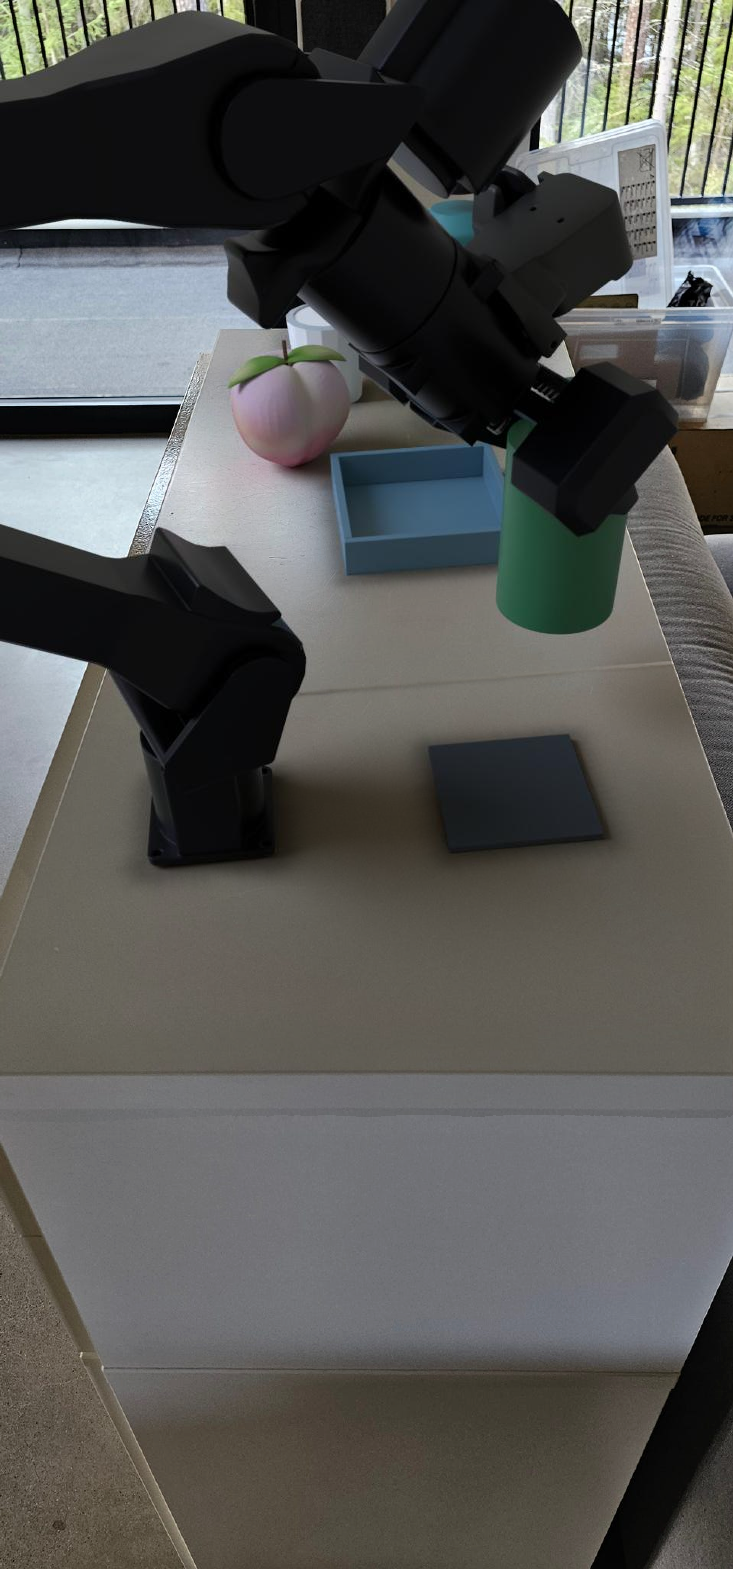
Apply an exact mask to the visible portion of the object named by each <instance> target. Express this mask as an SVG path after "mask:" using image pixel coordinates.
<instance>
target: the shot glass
mask: <svg viewBox="0 0 733 1569" xmlns="http://www.w3.org/2000/svg"><path fill="white" fill-rule="evenodd" d="M285 318H286V325H287V326H286V327H287V333H288V338H289V343H290V349H295V348H298V347H301V346H305V345H320V346H325V347H328V348H330V349H333V350H335V351H336V352H338V353H339V354H341V355H342V356H343V357H344V358H345V359H346V360H347V361H336V360H329V361H331V362H332V363H333V364H334V365H335V366H336V367H337V368H338V370H339V371H340V373H341V374H342V376H343V378H344V379H345V382H346V384H347V387H348V390H349V394H350V405H352V404H354V403H356V402H357V401H359V400H360V398H361V397H362V395H363V383H364V382H363V381H364V373H362V372H361V371H360V370H359V355H358V353H357V352H356V351H354V350H353V349H352V348H351V347H350V346H349V345H348V344H349V341H348V340H347V339H346V338H344V337H343V336H342V335H341V334H340V333H339V332H338V331H337V330H335V329H334V328H333V327H332V326H331V325H330V324H329V323H328V322H326V321H325V320H324V319H323V318H322V317H321V316H320V315H319V314H317V313H316V312H315V311H314V310H313V309H312V308H311V307H310V306H308V305H307V304H306V303H305V304H302V305H301V304H300V306H297V307H295V308H292V309H291V310H289V311H288V313H287V314H286V315H285Z"/></svg>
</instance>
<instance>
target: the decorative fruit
mask: <svg viewBox="0 0 733 1569" xmlns="http://www.w3.org/2000/svg"><path fill="white" fill-rule="evenodd" d="M329 360H336V361H347V360H346V359H345V358H344V357H343V356H342V355H341V354H339V353H338V352H336V351H335V350H333V349H330V348H328V347H325V346H320V345H305V346H301V347H298V348H295V349H291V348H288V347H287V340H286V339H281V349H275V350H270V351H267V352H264V353H261V354H259V355H257V356H255V357H253V358H250V359H249V360H247V361H246V362H244V363H243V364H242V365H240V367H239V368H238V369H237V370H236V371H235V373H233V375H232V377H231V379H230V380H229V383H228V386H227V389H228V390H229V389H231V392H230V407H231V413H232V417H233V421H234V424H235V427H236V429H237V431H238V434H239V436H240V437H241V439H242V441H243V443H244V444H245V445H246V446H247V447H248V449H249V450H250V451H251V452H253V453H254V454H255V455H257V456H258V457H259V458H262V459H263V460H266V461H268V462H270V463H274V464H278V465H281V466H286V467H289V468H290V467H291V468H295V467H298V466H301V465H305V464H306V463H308V462H310V461H312V460H314V459H316V458H317V457H318V456H320V455H321V454H322V453H323V452H325V451H326V450H327V449H328V448H329V447H330V445H332V443H333V442H334V441H335V440H336V439H337V438H338V436H339V435H340V433H341V432H342V430H343V428H344V427H345V426H346V423H347V421H348V418H349V415H350V411H351V404H350V394H349V390H348V387H347V384H346V382H345V379H344V378H343V376H342V374H341V373H340V371H339V370H338V368H337V367H336V366H335V365H334V364H333V363H332V362H331V361H329Z"/></svg>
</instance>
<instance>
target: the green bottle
mask: <svg viewBox="0 0 733 1569" xmlns="http://www.w3.org/2000/svg"><path fill="white" fill-rule="evenodd" d="M573 377H574V376H567V377H565V378H566V379H568V380H570V381H571V380H572V379H573ZM549 401H550V402H552V403H554V401H553V400H552V399H549ZM533 428H534V426H533V425H532V424H530V423H529V422H527V421H526V420H524V419H523V418H522V419H520V420H519V421H517V422H516V423H515V424H513V425H512V427H511V428H510V429H509V431H508V435H507V448H506V449H505V450H506V451H505V462H504V463H505V464H504V475H503V476H504V490H503V504H502V518H501V532H500V546H499V560H498V564H497V575H496V576H497V577H496V588H495V589H496V590H495V605H496V606H497V609H498V611H499V612H500V614H502V616H504V618H505V619H507V620H508V621H510V622H511V623H513V624H514V625H516V626H518V627H521V628H523V629H525V630H529V631H531V632H535V633H539V634H546V635H573V634H581V633H585V632H587V631H590V630H593V629H595V628H597V627H599V626H601V625H603V624H604V623H605V622H606V621H607V620H608V619H609V618H610V617H611V615H612V613H613V611H614V605H615V599H616V595H617V594H616V593H617V586H618V580H619V576H620V575H619V574H620V567H621V561H622V556H623V555H622V554H623V548H624V543H625V536H626V530H627V523H628V516H629V512H628V513H627V514H626V515H611V514H609V516H608V517H607V518H606V519H605V520H604V522H603V523H602V524H601V525H600V527H599V528H598V529H597V530H596V531H595V532H594V533H591V534H587V535H584V536H581V537H577V536H576V535H574V534H573V533H572V532H570V531H569V530H568V529H566V528H565V527H564V526H562V525H561V524H560V523H558V522H557V521H556V520H554V519H553V518H552V517H550V516H549V515H548V514H546V513H545V512H544V511H542V510H541V509H540V508H539V507H538V506H536V505H535V504H534V503H533V502H532V501H530V500H529V499H528V498H527V497H525V496H524V495H523V494H522V493H521V492H520V491H519V490H517V489H516V488H515V487H514V486H513V485H512V484H511V483H510V482H511V469H512V455H513V454H514V452H515V451H516V450H517V449H518V447H519V446H520V445H521V443H522V442H523V441H524V440H525V438H526V437H527V436H528V435H529V433H530V432H531V431H532V429H533Z"/></svg>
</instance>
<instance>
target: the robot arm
mask: <svg viewBox="0 0 733 1569" xmlns="http://www.w3.org/2000/svg"><path fill="white" fill-rule="evenodd" d="M583 54H584V52H583V45H582V42H581V39H580V36H579V34H578V31H577V29H576V27H575V25H574V24H573V21H572V20H571V19H570V17H569V14H567V13H566V11H565V10H564V8H563V6H562V5H561V4H560V3H559V2H558V1H557V0H396V1H395V2H394V4H393V5H392V7H391V9H390V10H389V12H388V13H387V14H386V16H385V17H384V19H383V20H382V22H381V24H379V26H378V28H377V29H376V30H375V32H374V34H373V35H372V37H371V38H370V40H369V41H368V42H367V44H366V46H365V47H364V49H363V50H362V52H361V53H360V55H359V56H358V58H357V59H356V60H354V59H352V58H349V57H345V56H343V55H340V54H337V53H334V52H331V51H328V50H325V49H322V48H320V47H315V48H313V50H311V52H308V51H307V52H306V51H305V52H304V51H303V50H302V49H301V48H300V47H299V46H298V44H297V43H295V42H294V41H292V40H290V39H288V38H285V37H283V36H280V35H278V34H275V33H273V32H269V31H267V30H264V29H261V28H258V27H256V26H252V25H249V24H246V23H243V22H240V21H238V20H235V19H232V18H229V17H226V16H223V15H220V14H218V13H214V12H211V11H206V10H204V11H203V10H197V9H196V10H195V9H187V10H183V11H179V12H175V13H172V14H169V15H166V16H164V17H163V16H162V17H159V18H157V19H155V20H152V21H149V22H146V23H143V24H140V25H138V26H135V27H132V28H130V29H127V30H124V31H121V32H119V33H116V34H113V35H110V36H107V37H105V38H102V39H99V40H97V41H95V42H93V43H92V44H90V45H88V46H86V47H84V48H82V49H79V51H77V52H75V53H73V54H71V55H70V56H68V57H65V58H64V59H62V60H61V61H59V62H56V63H54V64H53V65H50V66H47V67H44V68H42V69H39V70H36V71H33V72H31V73H27V74H24V75H22V76H19V77H14V78H6V79H5V78H4V79H0V233H2V232H8V231H13V230H19V229H24V228H29V227H37V226H41V225H47V224H52V223H59V222H64V221H69V220H87V221H89V220H94V221H95V220H97V221H114V222H121V223H129V224H136V225H144V226H151V227H156V228H157V227H158V228H165V229H173V230H188V231H191V230H192V231H193V230H194V231H195V230H197V231H208V230H209V231H250V233H248V234H244V235H242V236H231V237H230V236H229V237H226V239H225V240H224V242H223V244H222V246H223V247H222V248H223V251H224V252H225V256H226V260H227V272H226V273H227V275H226V286H227V288H226V298H227V300H228V302H229V303H230V304H231V305H233V306H234V307H235V308H236V309H238V310H239V311H240V312H241V313H243V314H244V315H245V316H246V317H248V318H249V319H250V320H251V321H253V322H254V323H255V324H257V325H258V326H259V327H260V328H261V329H263V330H266V331H267V330H271V329H274V327H275V326H277V324H278V323H279V321H280V320H281V319H282V317H283V316H284V314H285V313H286V311H287V310H288V308H289V307H290V306H291V304H292V303H293V301H294V300H295V298H296V297H298V298H299V299H300V300H302V301H303V302H304V303H305V304H307V305H308V306H310V307H311V308H312V309H313V310H314V311H315V312H316V313H317V314H319V315H320V316H321V317H322V318H323V319H324V320H325V321H326V322H328V323H329V324H330V325H331V326H332V327H333V328H334V329H335V330H337V331H338V332H339V333H340V334H341V335H342V336H343V337H344V338H346V339H347V340H348V341H349V344H348V345H349V346H350V347H351V348H352V349H353V350H354V351H356V352H357V353H358V355H359V370H360V371H361V372H362V373H363V375H364V376H366V377H367V378H368V379H369V380H370V381H371V382H372V383H374V384H375V385H376V386H377V387H378V388H380V389H381V391H383V392H385V393H386V394H387V395H389V397H391V398H393V399H394V400H395V401H396V402H398V403H399V404H400V405H401V406H402V407H406V406H407V405H408V404H409V405H408V406H409V409H410V411H412V412H413V413H414V414H416V415H417V416H418V417H419V418H421V419H422V420H424V422H426V423H428V425H430V426H432V427H433V428H434V429H438V430H440V431H444V432H447V433H451V434H454V436H456V437H458V438H459V439H461V440H462V441H463V442H464V443H465V444H469V445H470V446H471V447H472V446H473V445H474V444H475V443H477V442H479V443H486V444H490V445H491V446H492V447H493V446H494V447H496V448H500V449H504V450H506V448H507V435H508V431H509V429H510V428H511V427H512V425H513V424H515V423H516V422H517V421H519V420H520V419H522V418H523V419H524V420H526V421H527V422H529V423H530V424H532V425H533V426H534V428H533V429H532V431H531V432H530V433H529V435H528V436H527V437H526V438H525V440H524V441H523V442H522V443H521V445H520V446H519V447H518V449H517V450H516V451H515V452H514V454H513V455H512V469H511V482H510V483H511V484H512V485H513V486H514V487H515V488H516V489H517V490H519V491H520V492H521V493H522V494H523V495H524V496H525V497H527V498H528V499H529V500H530V501H532V502H533V503H534V504H535V505H536V506H538V507H539V508H540V509H541V510H542V511H544V512H545V513H546V514H548V515H549V516H550V517H552V518H553V519H554V520H556V521H557V522H558V523H560V524H561V525H562V526H564V527H565V528H566V529H568V530H569V531H570V532H572V533H573V534H574V535H576V536H577V537H581V536H584V535H587V534H591V533H594V532H595V531H596V530H597V529H598V528H599V527H600V525H601V524H602V523H603V522H604V520H605V519H606V518H607V517H608V516H609V514H611V515H626V514H627V513H628V514H629V512H630V511H631V510H632V509H633V507H634V506H635V505H636V504H637V502H638V501H639V498H640V496H639V492H638V490H637V487H636V483H637V482H638V481H639V480H640V478H641V477H642V476H643V474H645V472H646V471H647V470H648V469H649V468H650V467H651V465H652V464H653V463H654V461H656V459H657V458H658V456H659V455H660V454H661V453H662V452H663V450H664V449H665V448H667V445H668V444H669V443H670V442H671V441H672V440H673V438H674V437H675V436H676V435H677V433H679V423H680V414H679V413H678V411H677V410H676V409H675V408H674V406H673V405H672V404H671V403H670V401H669V400H668V399H667V398H666V396H664V394H663V393H662V392H661V391H660V390H659V389H658V388H657V387H655V386H653V385H652V384H650V383H647V382H646V381H644V380H643V379H640V378H639V377H637V376H636V375H634V374H631V373H629V372H628V371H626V370H624V369H622V368H621V367H619V366H617V365H616V364H614V363H612V362H610V361H608V360H606V361H601V362H597V363H592V364H589V365H585V366H581V367H580V368H579V369H578V371H577V372H576V373H575V374H574V376H572V377H573V379H572V380H571V381H570V380H568V379H566V377H564V376H562V375H561V374H560V373H557V371H554V370H553V369H551V368H549V367H548V366H547V365H545V364H542V363H541V362H539V361H540V360H541V359H542V358H545V359H550V358H552V356H553V355H554V354H555V353H556V351H557V349H558V348H559V347H560V346H561V345H562V344H563V342H564V341H565V340H566V338H567V337H568V333H567V332H566V331H565V329H564V328H563V327H562V326H561V325H560V324H559V323H558V322H557V320H556V319H558V318H561V317H563V316H565V315H566V314H568V313H570V312H571V311H572V310H574V309H576V308H577V307H578V306H579V305H580V304H582V303H583V302H585V301H586V300H587V299H589V298H590V297H592V295H593V294H595V293H597V292H598V291H599V290H601V289H602V288H603V287H605V286H606V285H607V284H609V283H610V282H611V281H613V282H617V281H619V280H620V279H623V277H625V275H627V274H628V273H629V271H630V270H631V269H632V268H633V266H634V257H633V253H632V249H631V244H630V240H629V236H628V231H627V227H626V223H625V220H624V216H623V210H622V206H621V201H620V198H619V194H618V192H617V190H615V189H614V188H611V187H609V186H607V185H603V184H601V183H599V182H595V181H593V180H590V179H588V178H585V177H583V176H580V175H578V174H576V173H572V172H561V173H557V174H553V173H551V172H548V171H545V170H542V171H541V172H540V173H538V174H537V175H536V178H537V182H538V184H537V183H535V182H534V181H533V179H531V178H530V177H529V176H528V175H527V174H526V173H525V172H524V171H522V170H520V169H519V168H516V167H514V166H510V165H508V162H510V159H511V158H512V157H513V155H514V154H515V152H516V151H517V150H518V148H519V147H520V145H522V143H523V142H524V141H525V139H526V138H527V136H528V135H529V134H530V132H531V130H532V129H533V128H534V126H535V125H536V124H537V122H538V121H539V120H540V118H541V117H542V115H543V114H544V113H545V111H546V110H547V109H548V107H549V106H550V105H551V103H552V102H553V100H554V99H555V97H556V96H557V95H558V93H559V92H560V91H561V89H562V88H563V86H564V85H565V84H566V82H567V81H568V80H569V78H570V77H571V76H572V74H573V72H574V71H575V70H576V69H577V67H578V66H579V64H580V63H581V61H582V59H583V56H584V55H583ZM391 159H392V160H393V161H394V162H395V163H396V164H397V165H398V166H399V167H400V168H401V169H402V170H403V171H404V172H406V174H407V175H409V176H410V177H411V178H412V179H413V180H414V181H416V183H418V184H419V185H420V186H422V187H423V188H424V189H426V190H427V191H428V192H430V193H432V194H433V195H435V196H437V197H438V198H441V199H444V200H448V199H449V198H450V197H451V196H452V195H451V194H452V192H453V191H454V190H455V188H456V186H457V183H456V182H459V183H461V184H462V185H463V186H464V187H465V188H466V189H468V190H469V191H470V192H471V193H473V194H472V195H473V200H472V201H473V213H472V223H473V224H472V228H473V231H474V235H475V236H474V238H473V239H472V240H471V241H470V242H469V243H468V244H467V245H466V246H464V247H463V246H462V245H461V244H460V243H459V242H458V241H457V240H456V239H455V238H454V237H452V236H451V235H450V234H449V232H448V231H447V230H446V229H445V228H444V227H443V226H442V225H441V224H440V223H439V221H438V220H437V219H436V218H435V217H434V216H433V215H432V214H431V213H430V211H429V210H428V209H429V208H427V207H426V206H425V205H424V204H423V202H421V201H420V199H419V198H418V197H417V196H416V194H414V193H413V191H412V190H411V189H410V188H409V187H408V186H407V185H406V183H405V182H404V181H403V180H402V179H401V178H400V177H399V176H398V175H397V174H396V172H395V171H394V170H393V169H392V168H391V167H390V166H389V165H388V162H389V161H390V160H391ZM534 390H536V391H537V392H536V391H534ZM540 394H542V395H543V396H542V395H540ZM545 397H547V398H548V399H549V400H548V399H547V398H545ZM550 399H552V400H553V401H554V403H552V402H550ZM0 642H1V643H7V644H11V645H14V646H18V647H23V648H26V649H30V650H31V649H32V650H34V651H39V652H43V653H46V654H47V653H48V654H51V655H56V656H60V657H64V658H68V659H72V660H76V661H80V662H84V663H88V664H92V665H97V666H99V667H101V668H104V669H106V670H108V675H109V677H110V678H111V679H112V681H113V683H114V685H115V687H116V688H117V690H118V692H119V694H120V695H121V697H122V699H123V700H124V702H125V704H126V706H127V707H128V710H129V711H130V713H131V714H132V716H133V718H134V719H135V721H136V723H137V725H138V726H139V728H140V729H139V742H140V747H141V751H142V756H143V760H144V765H145V770H146V773H147V778H148V783H149V788H150V792H151V798H150V799H151V800H150V815H149V828H148V843H147V859H148V862H149V864H150V865H152V866H154V867H162V866H171V865H172V866H173V865H174V866H175V865H184V864H195V863H196V864H197V863H207V862H208V863H209V862H217V861H227V860H228V861H230V860H240V859H251V858H261V857H270V856H272V855H274V854H275V853H276V851H277V831H276V813H275V811H276V810H275V792H274V791H275V790H274V773H273V769H272V768H271V767H270V766H269V765H271V764H273V763H274V761H276V756H277V753H278V749H279V747H280V743H281V739H282V736H283V733H284V729H285V725H286V722H287V719H288V715H289V712H290V709H291V705H292V702H293V699H294V698H295V697H296V696H297V694H298V693H299V691H300V689H301V687H302V684H303V681H304V679H305V676H306V672H307V671H306V670H307V655H306V652H305V649H304V644H303V641H302V640H301V639H300V638H299V637H298V636H297V634H296V633H295V632H294V630H292V628H291V627H290V626H289V625H288V623H287V622H286V621H285V620H284V618H283V617H282V611H280V609H279V608H278V607H277V605H276V604H275V603H274V602H273V600H271V599H270V597H269V596H268V595H267V594H266V592H265V591H264V590H263V589H262V588H261V586H260V585H259V584H258V583H257V582H256V581H255V579H254V578H253V577H252V576H251V575H250V574H249V572H248V571H247V570H246V569H245V568H244V566H243V565H242V563H240V561H239V560H238V559H237V557H236V556H235V555H234V554H233V553H232V552H231V550H230V549H229V548H228V547H227V546H226V545H217V546H216V545H215V546H207V545H201V544H197V543H193V542H192V541H190V540H186V539H185V538H183V537H182V536H180V535H178V534H176V533H175V532H173V531H171V530H170V529H167V528H164V527H161V526H157V527H155V529H154V532H153V536H152V540H151V543H150V547H149V550H148V552H147V553H142V554H136V555H130V556H124V557H110V556H104V555H101V554H98V553H94V552H91V551H88V550H86V549H81V548H78V547H75V546H72V545H69V544H66V543H62V542H59V541H57V540H53V539H50V538H47V537H44V536H41V535H37V534H34V533H30V532H28V531H25V530H21V529H18V528H16V527H12V526H8V525H5V524H2V523H0Z"/></svg>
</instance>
